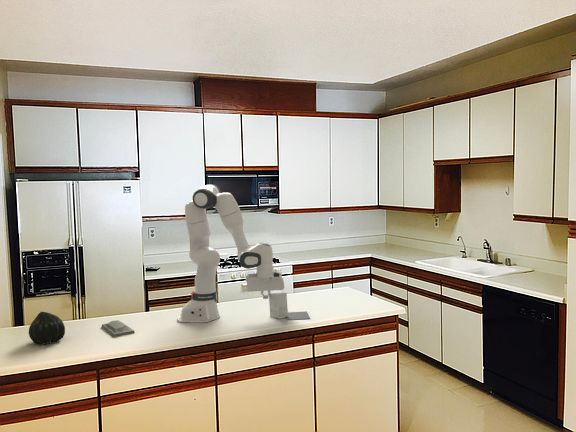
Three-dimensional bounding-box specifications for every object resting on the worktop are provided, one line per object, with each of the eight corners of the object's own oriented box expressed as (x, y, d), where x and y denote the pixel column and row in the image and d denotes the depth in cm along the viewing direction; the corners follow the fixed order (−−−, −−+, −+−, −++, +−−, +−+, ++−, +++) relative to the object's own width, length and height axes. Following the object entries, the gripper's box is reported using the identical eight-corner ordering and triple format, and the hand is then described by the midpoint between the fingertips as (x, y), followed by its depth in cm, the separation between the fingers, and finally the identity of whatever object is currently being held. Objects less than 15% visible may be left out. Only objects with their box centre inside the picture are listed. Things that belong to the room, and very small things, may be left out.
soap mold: (113, 338, 222) (113, 331, 222) (101, 328, 238) (100, 321, 238) (134, 334, 228) (134, 327, 228) (121, 324, 244) (120, 317, 244)
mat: (287, 320, 244) (287, 319, 243) (285, 313, 256) (285, 312, 256) (310, 319, 245) (310, 318, 245) (306, 311, 258) (306, 311, 258)
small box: (288, 316, 249) (286, 292, 248) (278, 319, 245) (277, 295, 244) (278, 313, 255) (277, 290, 254) (269, 316, 251) (268, 292, 250)
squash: (67, 332, 214) (61, 304, 221) (30, 340, 206) (26, 311, 213) (66, 345, 224) (61, 318, 231) (31, 354, 216) (26, 325, 223)
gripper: (245, 275, 243) (246, 301, 244) (284, 273, 245) (284, 299, 246) (245, 272, 249) (246, 298, 251) (283, 271, 251) (283, 296, 253)
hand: (265, 298), depth 248 cm, fingers closed
